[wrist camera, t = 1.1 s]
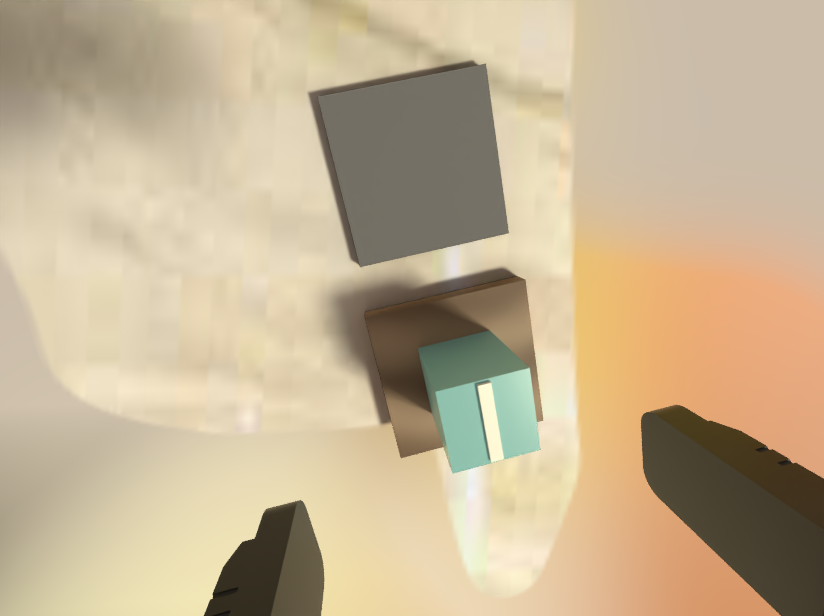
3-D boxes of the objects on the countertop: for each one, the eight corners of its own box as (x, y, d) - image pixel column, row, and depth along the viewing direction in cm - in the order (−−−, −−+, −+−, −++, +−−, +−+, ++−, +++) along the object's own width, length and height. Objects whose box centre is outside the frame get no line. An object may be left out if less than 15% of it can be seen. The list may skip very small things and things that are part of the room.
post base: (364, 312, 28) (365, 344, 22) (517, 276, 29) (563, 296, 23) (399, 446, 32) (409, 510, 25) (535, 411, 33) (580, 463, 26)
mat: (318, 100, 25) (317, 96, 24) (482, 68, 25) (485, 63, 25) (360, 265, 28) (360, 267, 27) (504, 232, 28) (508, 233, 28)
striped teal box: (417, 348, 28) (435, 393, 21) (490, 330, 29) (531, 369, 22) (431, 413, 30) (453, 475, 23) (500, 395, 30) (542, 451, 23)
